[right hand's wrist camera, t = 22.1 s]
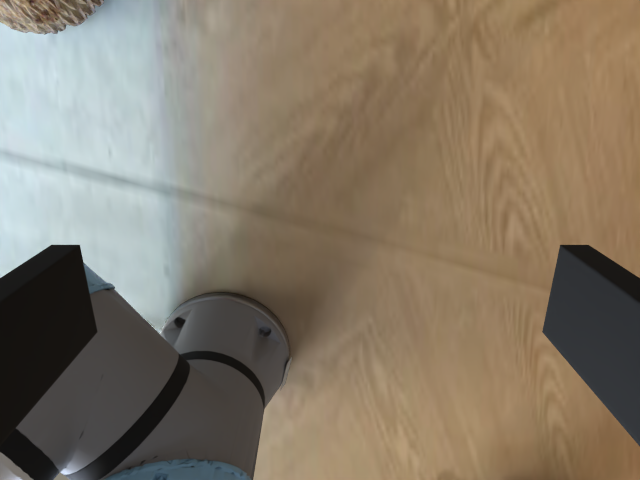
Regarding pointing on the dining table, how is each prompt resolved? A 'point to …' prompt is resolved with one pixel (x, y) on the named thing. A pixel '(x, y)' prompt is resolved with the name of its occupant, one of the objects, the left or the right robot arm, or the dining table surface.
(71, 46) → the dining table surface
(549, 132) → the dining table surface
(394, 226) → the dining table surface
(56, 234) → the dining table surface
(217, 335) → the right robot arm
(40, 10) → the seashell
